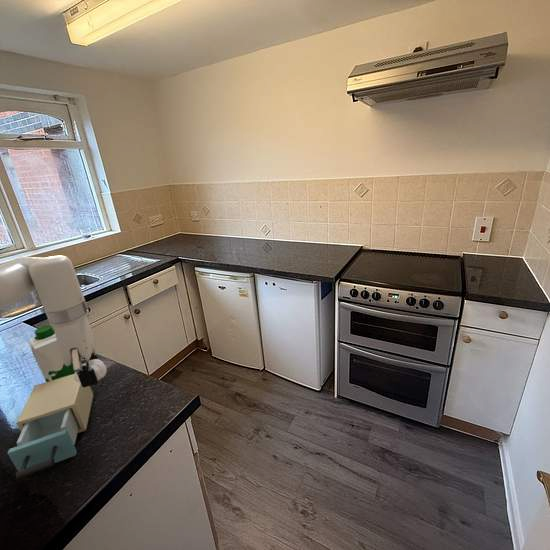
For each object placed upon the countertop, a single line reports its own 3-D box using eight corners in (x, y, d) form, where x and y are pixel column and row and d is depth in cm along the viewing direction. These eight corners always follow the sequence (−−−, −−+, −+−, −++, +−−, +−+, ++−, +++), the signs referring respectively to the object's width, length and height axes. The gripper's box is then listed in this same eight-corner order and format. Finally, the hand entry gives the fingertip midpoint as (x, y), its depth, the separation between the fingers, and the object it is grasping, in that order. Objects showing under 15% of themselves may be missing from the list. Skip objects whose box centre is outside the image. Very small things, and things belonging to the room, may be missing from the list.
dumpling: (106, 367, 77) (105, 356, 75) (107, 382, 73) (106, 370, 71) (73, 374, 73) (71, 362, 72) (73, 390, 69) (71, 377, 68)
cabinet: (85, 430, 75) (74, 403, 72) (30, 449, 71) (16, 422, 68) (93, 395, 87) (83, 371, 83) (46, 410, 83) (34, 385, 80)
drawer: (71, 474, 63) (60, 451, 60) (11, 498, 59) (-3, 474, 57) (85, 415, 78) (76, 395, 76) (38, 431, 75) (27, 411, 72)
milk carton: (81, 374, 96) (58, 320, 89) (90, 386, 90) (67, 329, 83) (49, 390, 90) (22, 333, 83) (56, 403, 85) (28, 344, 77)
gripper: (57, 301, 72) (80, 362, 79) (36, 334, 58) (67, 406, 64) (92, 293, 75) (111, 354, 82) (80, 324, 60) (106, 394, 67)
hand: (92, 376), depth 73 cm, fingers closed on dumpling, 5 cm apart
